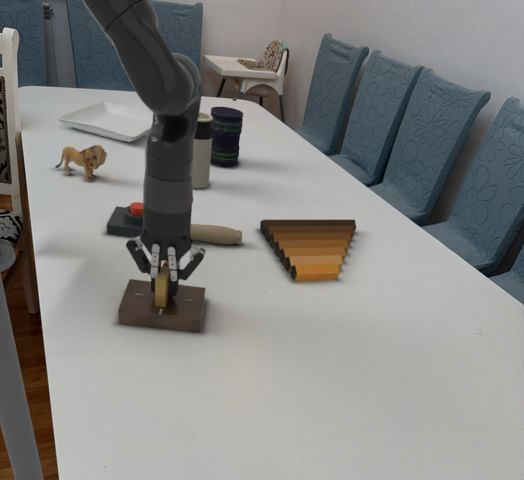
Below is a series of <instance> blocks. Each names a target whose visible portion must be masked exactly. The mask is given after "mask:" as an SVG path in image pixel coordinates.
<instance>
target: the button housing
mask: <svg viewBox="0 0 524 480" xmlns="http://www.w3.org/2000/svg"><path fill="white" fill-rule="evenodd" d="M142 231H143V215H134V214H131V213H130V205H127V206H126V207H124V206H118V205H116V206H115V208H114V210H113V212H112V213H111V215H110V218H109V219H108V221H107V223H106V234H107V235H114V236H119V237H120V236H121V237H128V238H130V237H131V236H135V237H138V236H140V235H141V233H142Z"/></svg>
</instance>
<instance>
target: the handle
mask: <svg viewBox="0 0 524 480" xmlns="http://www.w3.org/2000/svg"><path fill="white" fill-rule="evenodd" d="M190 236H191V238H192V240H194V241H201V242H206V243H213V244H219V245H241V244H242V242H243V231H242V230H240V229H235V228H232V227H229V226H228V227H227V226H223V225H215V224H214V225H212V224H198V223H191V228H190Z"/></svg>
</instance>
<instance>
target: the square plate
mask: <svg viewBox="0 0 524 480" xmlns="http://www.w3.org/2000/svg"><path fill="white" fill-rule="evenodd" d="M56 120H58V121H59V122H60V123H62V124H63V125H65V126H66V127H69V128H73V129H77V130H79V131H82V132H84V133H89V134H93V135H96V136H101V137H103V138H109V139H112V140H116V141H121V142H128V143H131V142H134V141H136V140H138V139H140V138H142V137H144V136H147V135H148V133H149V131H150V129H151V126H152V121H153V112H151V111H150V112H149V111H147V110H143V109H139V108H136V107H135V108H134V107H130V106H126V105H121V104H116V103H112V102H107V101H101V102H97V103H94V104H91V105H87V106H83V107H82V108H81V107H80V108H78V109H75V110H73V111H70V112H67V113H64V114H62V115H60V116H57V117H56Z"/></svg>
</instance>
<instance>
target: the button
mask: <svg viewBox="0 0 524 480" xmlns="http://www.w3.org/2000/svg"><path fill="white" fill-rule="evenodd" d="M129 206H130V213H131V214H134V215H143V202H141V201H140V202H139V201H135V202H132V203H130V204H129Z"/></svg>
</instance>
